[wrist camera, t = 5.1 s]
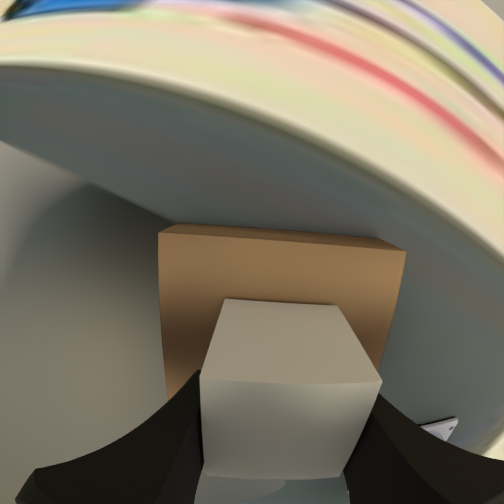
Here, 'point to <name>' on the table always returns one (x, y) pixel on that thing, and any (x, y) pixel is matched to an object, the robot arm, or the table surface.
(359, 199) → the table surface
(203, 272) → the walnut block
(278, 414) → the grey cube
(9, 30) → the table surface
